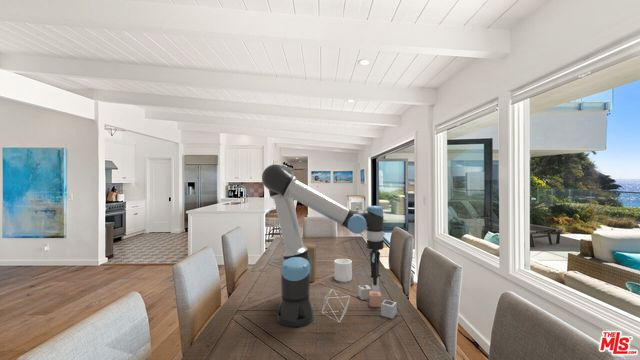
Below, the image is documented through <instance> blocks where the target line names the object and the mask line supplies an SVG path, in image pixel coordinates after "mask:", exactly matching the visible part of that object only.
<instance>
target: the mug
mask: <svg viewBox="0 0 640 360" xmlns="http://www.w3.org/2000/svg"><path fill="white" fill-rule="evenodd" d="M352 262H353V261H352V260H351V259H349V258H337V259H334V280H335V281H336V282H340V283H347V282H348V283H349V282H350V281H352V279H353V277H352V276H353V273H352V272H353V270H352V269H353V263H352Z"/></svg>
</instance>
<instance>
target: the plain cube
mask: <svg viewBox="0 0 640 360" xmlns="http://www.w3.org/2000/svg"><path fill="white" fill-rule="evenodd" d="M381 293H382V292H381V291H378V292H373V291H372V290H371V291H370V299H369V307H372V308H374V307H375V308H381V303H382V294H381Z"/></svg>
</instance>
